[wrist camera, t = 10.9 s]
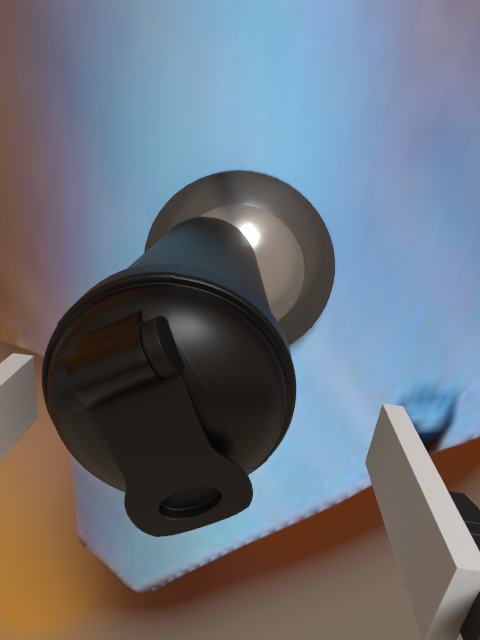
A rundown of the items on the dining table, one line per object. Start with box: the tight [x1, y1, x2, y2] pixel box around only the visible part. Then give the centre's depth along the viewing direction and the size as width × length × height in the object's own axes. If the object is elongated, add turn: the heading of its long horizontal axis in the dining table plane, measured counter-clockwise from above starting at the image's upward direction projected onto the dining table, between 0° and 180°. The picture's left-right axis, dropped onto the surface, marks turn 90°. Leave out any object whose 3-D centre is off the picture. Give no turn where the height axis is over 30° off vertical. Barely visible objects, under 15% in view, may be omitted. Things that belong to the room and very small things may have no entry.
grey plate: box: [145, 170, 335, 345], centre depth 36 cm, size 16×16×2 cm
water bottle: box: [42, 217, 296, 537], centre depth 25 cm, size 10×10×23 cm
